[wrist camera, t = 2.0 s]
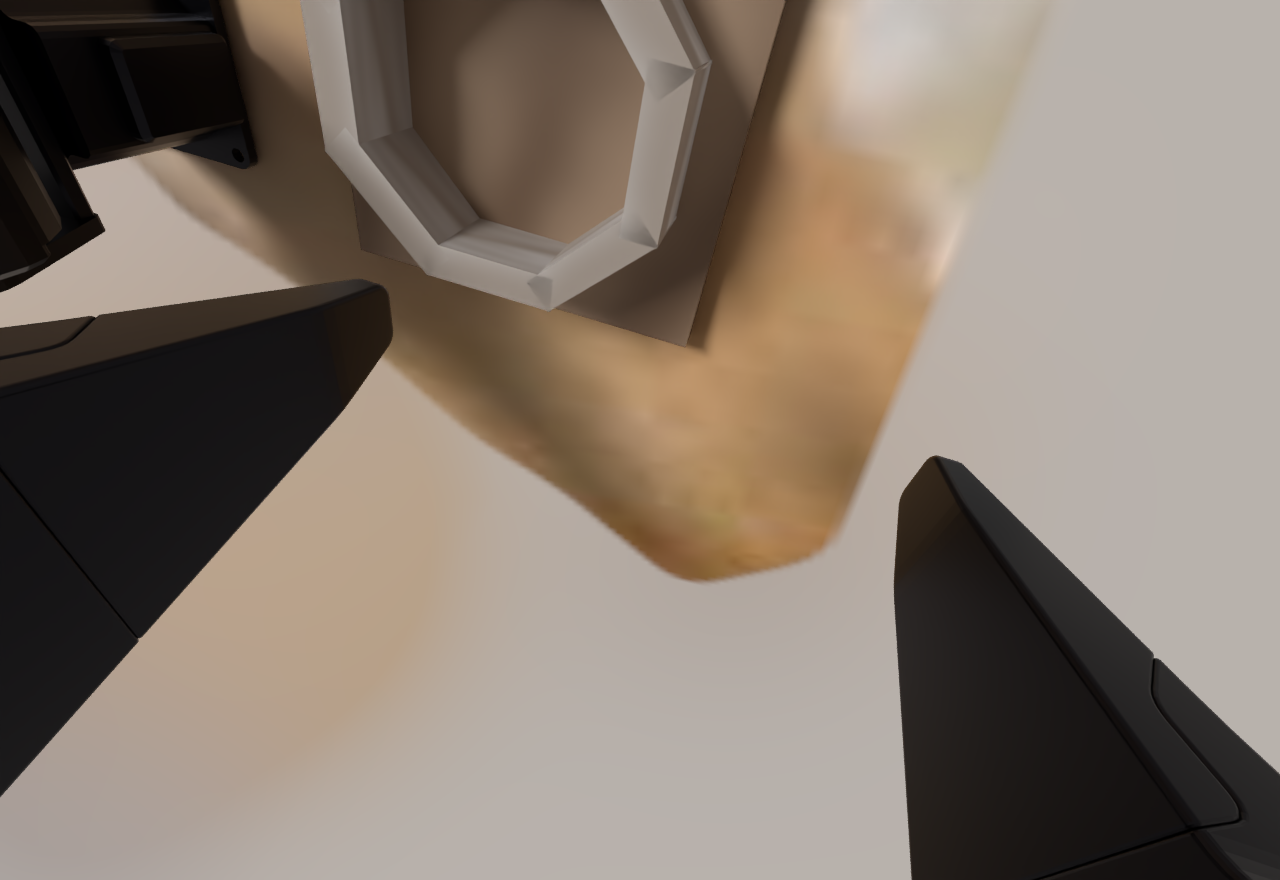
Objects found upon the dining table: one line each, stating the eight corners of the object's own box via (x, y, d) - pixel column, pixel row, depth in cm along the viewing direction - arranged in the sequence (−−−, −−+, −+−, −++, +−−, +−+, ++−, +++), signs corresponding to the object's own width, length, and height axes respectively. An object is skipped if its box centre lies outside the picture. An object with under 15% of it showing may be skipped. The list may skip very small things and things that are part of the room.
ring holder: (375, 241, 23) (310, 277, 20) (309, -280, 14) (173, -354, 11) (689, 335, 23) (670, 387, 20) (831, -155, 13) (836, -199, 10)
